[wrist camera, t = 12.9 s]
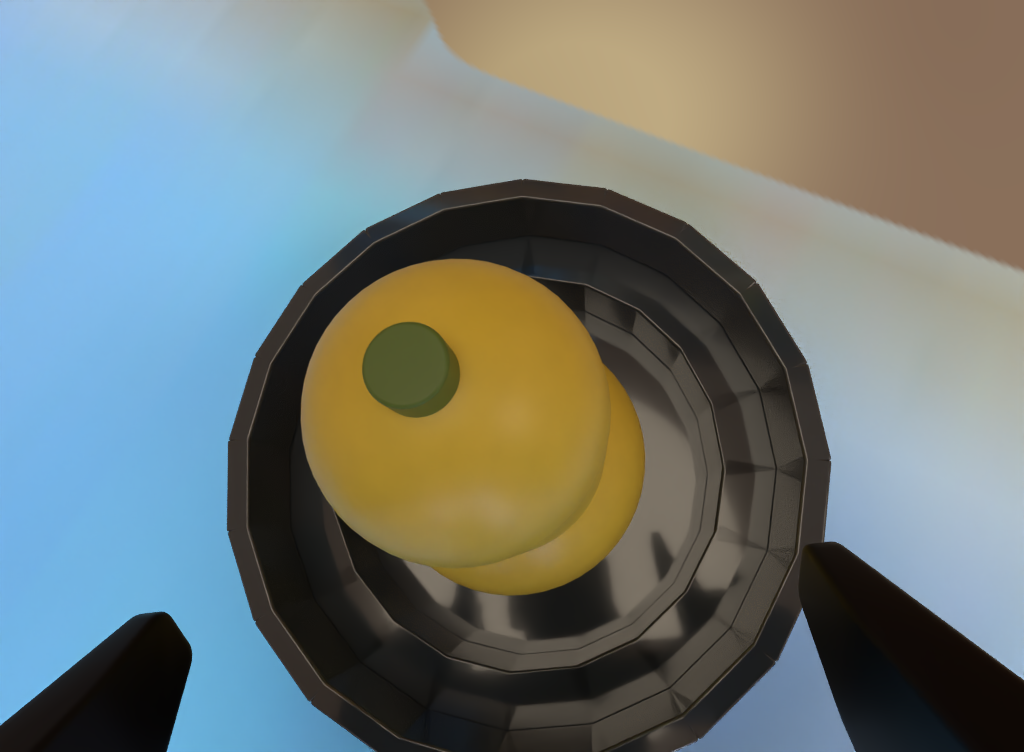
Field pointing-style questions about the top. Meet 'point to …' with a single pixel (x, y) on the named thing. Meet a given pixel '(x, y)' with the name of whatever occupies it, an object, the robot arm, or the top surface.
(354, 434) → the squash
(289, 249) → the top surface
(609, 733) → the black metal bowl
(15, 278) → the top surface
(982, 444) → the top surface
